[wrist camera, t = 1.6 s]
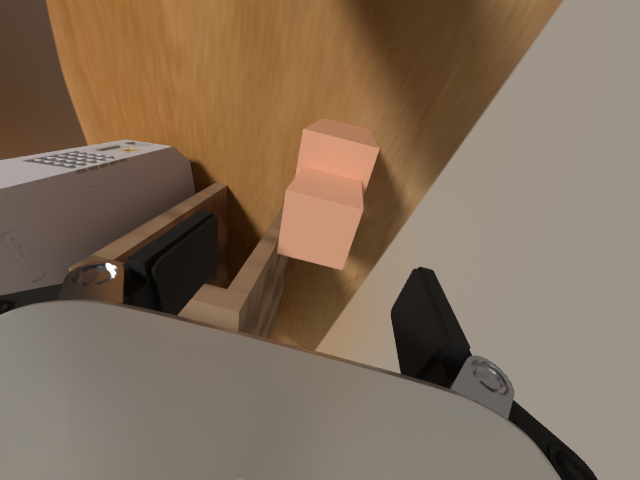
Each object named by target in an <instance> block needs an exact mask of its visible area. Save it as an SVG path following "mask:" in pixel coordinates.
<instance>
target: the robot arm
mask: <svg viewBox="0 0 640 480" xmlns="http://www.w3.org/2000/svg"><path fill="white" fill-rule="evenodd" d="M218 263H219V261H218V218H217V217H215V215H214V213H211V212H207V211H203V210H199V211H197V212H196V213H194V214H193V215H191V216H190V217H188V218H187V219H185V220H184V221H182V222H181V223H179V224H178V225H176V226H175V227H173V228H172V229H170V230H169V231H167V232H166V233H164V234H163V235H161V236H160V237H158V238H157V239H155V240H154V241H152V242H150V243H149V244H147V245H146V246H144V247H143V248H141V249H140V250H138V251H137V252H135V253H134V254H132V255H131V256H129V257H128V258H127V262H126V263H124V264H123V265H121V264H120V263H118V262H115V261H96V262H91V263H87V264H84V265H81V266H79V267H77V268H75V269H73V270H72V271H71V272H69V273H68V274H67V275H66V277H65V278H64V281H63V283H61V284H56V285H51V286H46V287H41V288H36V289H30V290H25V291H20V292H15V293H10V294H5V295H0V480H598V479H597V478H596V476H595V475H594V473H593V472H592V470H591V469H590V468H589V467H588V466H587V464H585V462H584V461H583V460H582V459H581V458H580V457H579V456H578V455H577V454H575V452H573V451H572V450H571V449H570V448H569V447H568V446H566V445H565V444H564V443H563V442H562V441H561V440H559V439H558V438H557V437H556V436H555V435H554V434H552V433H551V432H550V431H549V430H548V429H547V428H546V427H544V426H543V425H542V424H541V423H540V422H538V421H537V420H536V419H535V418H534V417H533V416H531V415H530V414H529V413H528V412H527V411H526V410H525V409H523V408H522V407H521V406H520V405H519V404H518V403H516V402H515V401H514V400H513V397H514V389H513V387H512V384H511V382H510V381H509V379H508V377H507V376H506V375H505V374H504V373H503V371H502V370H500V368H498V367H497V366H496V365H495V364H494V363H492V362H490V361H489V360H487V359H485V358H483V357H480V356H475V355H474V356H472V354H471V352H470V350H469V349H470V346H469V343H468V342H467V339H466V337H465V335H464V333H463V331H462V329H461V327H460V325H459V323H458V321H457V319H456V316H455V315H454V313H453V310H452V308H451V306H450V304H449V302H448V300H447V298H446V296H445V294H444V292H443V290H442V288H441V285H440V283H439V282H438V279H437V277H436V275H435V273H434V271H433V270H431V269H427V268H423V267H419V268H417V269H414V270H413V271H412V273H411V275H410V276H409V279H408V280H407V282H406V284H405V285H404V287H403V289H402V291H401V293H400V294H399V296H398V298H397V300H396V302H395V304H394V305H393V308H392V310H391V320H392V325H393V331H394V337H395V343H396V348H397V354H398V360H399V366H400V371H401V374H398V373H395V372H392V371H388V370H384V369H381V368H377V367H373V366H370V365H366V364H362V363H358V362H354V361H350V360H347V359H343V358H339V357H336V356H332V355H328V354H324V353H321V352H317V351H313V350H309V349H305V348H301V347H298V346H294V345H290V344H286V343H282V342H278V341H275V340H271V339H267V338H263V337H259V336H255V335H251V334H247V333H244V332H240V331H236V330H232V329H228V328H224V327H220V326H216V325H212V324H208V323H204V322H200V321H196V320H192V319H188V318H185V317H180V316H177V315H178V314H179V313H180V312H181V310H182V309H183V308H184V307H185V306H186V305H187V303H188V302H189V301H190V300H191V299H192V298H193V296H194V295H195V294H196V293H197V292H198V291H199V289H200V288H201V287H202V286H203V285H204V284H205V282H206V281H207V280H208V279H209V278H210V277H211V275H212V274H213V273H214V272H215V271H216V269H217V267H218Z"/></svg>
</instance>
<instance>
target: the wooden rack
mask: <svg viewBox="0 0 640 480" xmlns="http://www.w3.org/2000/svg"><path fill="white" fill-rule="evenodd" d="M199 210H203V211H207V212H211V213H214V215H215V217H217V218H218V261H219V263H218V267H217V269H216V271H215V272H214V273H213V274H212V275H211V277H210V278H209V279H208V280H207V281H206V282H205V284H204V285H203V286H202V287H201V288H200V289H199V291H198V292H197V293H196V294H195V295H194V296H193V298H192V299H191V300H190V301H189V302H188V303H187V305H186V306H185V307H184V308H183V309H182V310H181V312H180V313H179V314H178V315H177V316H180V317H185V318H188V319H192V320H196V321H200V322H204V323H208V324H212V325H216V326H220V327H224V328H228V329H232V330H236V331H240V332H244V333H247V334H251V335H255V336H259V337H263V338H267V339H270V338H271V335H272V332H273V329H274V326H275V324H276V321H277V318H278V315H279V310H280V304H281V299H282V293H283V287H284V282H285V276H286V271H287V265H288V260H289V256H285V255H281V254H277V248H278V241H279V235H280V228H281V221H282V214H283V208H282V209H281V211H280V212H279V214H278V215H277V217H276V218H275V220H274V221H273V223H272V224H271V226H270V227H269V229H268V230H267V232H266V233H265V234H264V236H263V237H262V239H261V240H260V242H259V243H258V245H257V246H256V248H255V249H254V251H253V252H252V254H251V255H250V256H249V258H248V259H247V261H246V262H245V264H244V265H243V267H242V268H241V270H240V271H239V273H238V274H237V276H236V277H235V278H234V280H233V281H232V283H231V284H230V286H229V287H228V289H227V185H224V184H220V183H214V184H212V185H211V186H209V187H207V188H205V189H204V190H202V191H200V192H198V193H197V194H195V195H193V196H192V197H190V198H188V199H186V200H185V201H183V202H181V203H179V204H178V205H176V206H174V207H173V208H171V209H169V210H167V211H166V212H164V213H162V214H161V215H159V216H157V217H155V218H154V219H152V220H150V221H148V222H147V223H145V224H143V225H142V226H140V227H138V228H136V229H135V230H133V231H131V232H129V233H128V234H126V235H124V236H123V237H121V238H119V239H117V240H116V241H114V242H112V243H111V244H109V245H107V246H105V247H104V248H102V249H100V250H98V251H97V252H95V253H93V254H92V255H90V256H88V257H86V258H85V259H83V260H81V261H79V262H78V263H76V264H74V265H73V266H71V267H69V268H68V269H69V271H70V272H71V271H72V270H73V269H75V268H77V267H79V266H81V265H84V264H87V263H91V262H96V261H115V262H118V263H120V264H121V265H123V264H124V263H126V262H127V258H128V257H129V256H131V255H132V254H134V253H135V252H137V251H138V250H140V249H141V248H143V247H144V246H146V245H147V244H149V243H150V242H152V241H154V240H155V239H157V238H158V237H160V236H161V235H163V234H164V233H166V232H167V231H169V230H170V229H172V228H173V227H175V226H176V225H178V224H179V223H181V222H182V221H184V220H185V219H187V218H188V217H190V216H191V215H193V214H194V213H196V212H197V211H199Z"/></svg>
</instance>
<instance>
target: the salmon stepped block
mask: <svg viewBox="0 0 640 480" xmlns="http://www.w3.org/2000/svg"><path fill="white" fill-rule="evenodd" d="M379 149H380V148H379V146H378V144H377V142H376V141H375V139H374V137H373V135H372V133H371V131H370V130H369V129H365V128H361V127H357V126H353V125H349V124H345V123H341V122H338V121H334V120H330V119H326V118H323V119H321V120H319V121H317V122H315V123H313V124H311V125H309V126H308V127H306V128H304V129H303V133H302V139H301V145H300V151H299V158H298V164H297V170H296V176H295V179H294V180H293V181H292V183H291V184H290V185H289V187H288V188H287V189H286V193H285V200H284V207H283V214H282V221H281V228H280V235H279V241H278V248H277V254H281V255H285V256H289V257H292V258H296V259H300V260H304V261H308V262H312V263H316V264H320V265H324V266H328V267H332V268H335V269H339V270H343V267H344V264H345V262H346V259H347V256H348V253H349V250H350V247H351V244H352V242H353V239H354V236H355V233H356V230H357V227H358V224H359V222H360V219H361V216H362V213H363V210H364V209H363V197H364V194H365V191H366V188H367V185H368V182H369V179H370V176H371V173H372V170H373V167H374V164H375V161H376V158H377V155H378V152H379Z"/></svg>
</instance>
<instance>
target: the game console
mask: <svg viewBox="0 0 640 480" xmlns="http://www.w3.org/2000/svg"><path fill="white" fill-rule="evenodd" d="M195 194H196V191H195V186H194V180H193V175H192V169H191V164H190V161H189V160H188V159H187V158H186V157H185V156H183V155H182V154H181V153H180V152H179V151H178V150H177V149H176V148H175V147H174V146H167V145H160V144H152V143H145V142H138V141H131V140H121V141H115V142H109V143H103V144H97V145H91V146H85V147H79V148H73V149H67V150H61V151H55V152H49V153H42V154H36V155H31V156H24V157H19V158H12V159H7V160H0V295H5V294H10V293H15V292H20V291H25V290H30V289H36V288H41V287H46V286H51V285H56V284H61V283H63V281H64V278H65V277H66V275H67V274H68V273H69V272H70V271H69V269H68V268H69V267H71V266H73V265H74V264H76V263H78V262H79V261H81V260H83V259H85V258H86V257H88V256H90V255H92V254H93V253H95V252H97V251H98V250H100V249H102V248H104V247H105V246H107V245H109V244H111V243H112V242H114V241H116V240H117V239H119V238H121V237H123V236H124V235H126V234H128V233H129V232H131V231H133V230H135V229H136V228H138V227H140V226H142V225H143V224H145V223H147V222H148V221H150V220H152V219H154V218H155V217H157V216H159V215H161V214H162V213H164V212H166V211H167V210H169V209H171V208H173V207H174V206H176V205H178V204H179V203H181V202H183V201H185V200H186V199H188V198H190V197H192V196H193V195H195Z"/></svg>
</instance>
